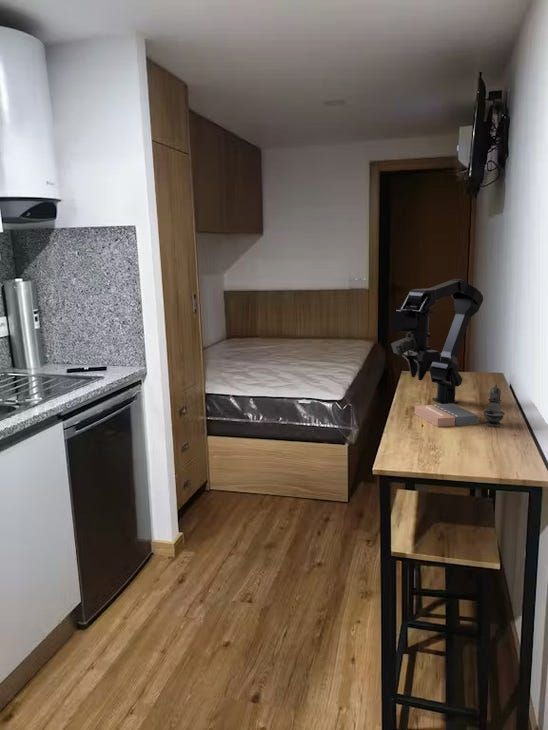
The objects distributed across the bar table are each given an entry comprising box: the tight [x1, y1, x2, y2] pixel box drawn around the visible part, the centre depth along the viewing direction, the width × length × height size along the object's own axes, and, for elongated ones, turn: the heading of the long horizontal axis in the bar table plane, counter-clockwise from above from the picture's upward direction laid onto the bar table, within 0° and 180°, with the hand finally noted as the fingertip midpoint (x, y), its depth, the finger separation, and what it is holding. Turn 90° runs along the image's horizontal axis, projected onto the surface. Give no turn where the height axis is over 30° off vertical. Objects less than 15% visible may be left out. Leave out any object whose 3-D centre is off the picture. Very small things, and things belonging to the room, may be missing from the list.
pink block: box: [414, 404, 456, 428], centre depth 169 cm, size 14×6×3 cm, turn 13°
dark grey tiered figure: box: [483, 384, 506, 428], centre depth 163 cm, size 6×6×12 cm
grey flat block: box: [431, 403, 479, 426], centre depth 170 cm, size 14×7×3 cm, turn 13°
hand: (416, 378), depth 178 cm, fingers open, 4 cm apart
